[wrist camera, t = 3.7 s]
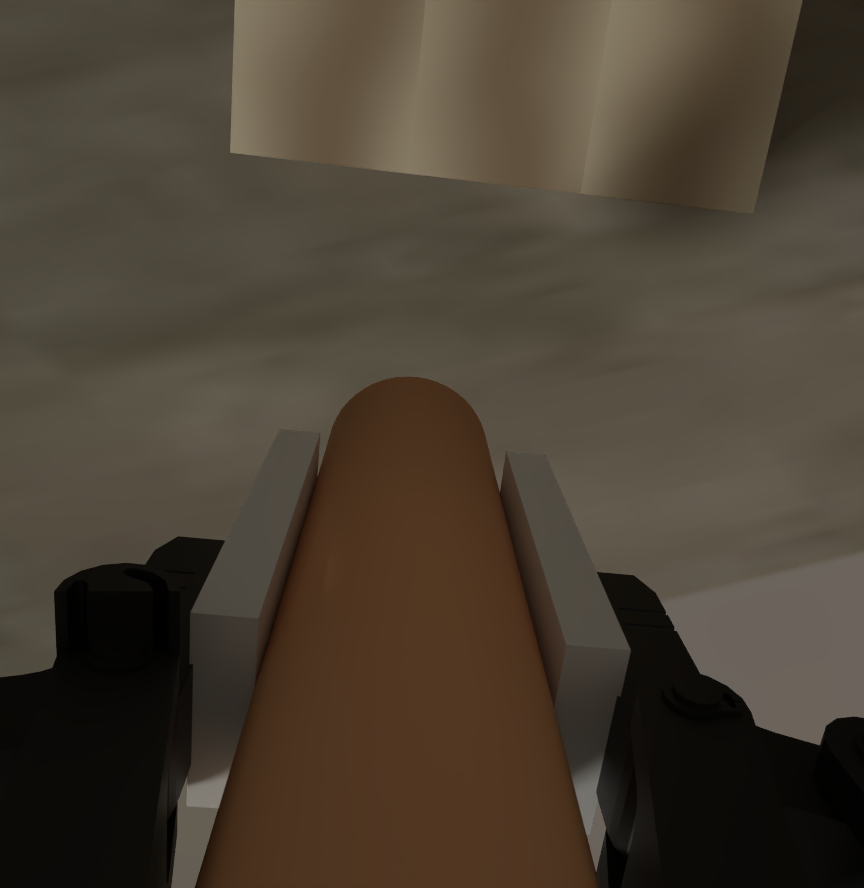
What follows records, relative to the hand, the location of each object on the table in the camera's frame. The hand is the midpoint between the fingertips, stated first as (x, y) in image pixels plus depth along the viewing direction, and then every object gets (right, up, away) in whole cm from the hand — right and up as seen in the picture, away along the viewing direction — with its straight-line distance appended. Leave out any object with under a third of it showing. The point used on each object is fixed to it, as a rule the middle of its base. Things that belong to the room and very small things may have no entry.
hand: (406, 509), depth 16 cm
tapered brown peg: (0, +1, +3) cm, 3 cm away
